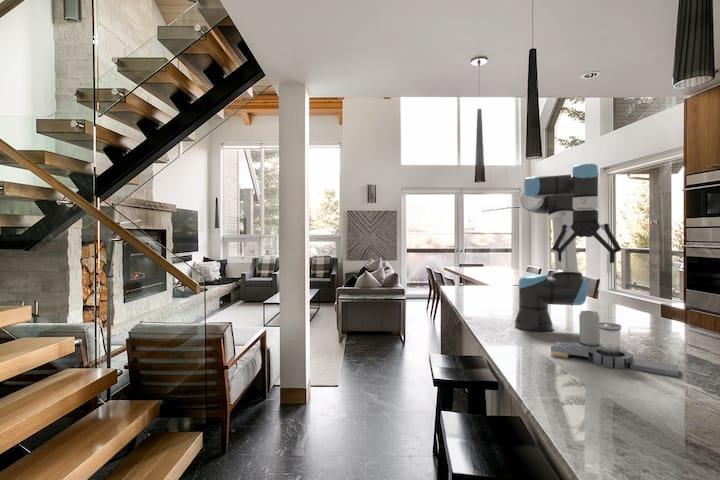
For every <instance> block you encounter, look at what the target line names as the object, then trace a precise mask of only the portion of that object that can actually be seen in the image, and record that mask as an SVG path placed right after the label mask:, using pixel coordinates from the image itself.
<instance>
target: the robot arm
mask: <svg viewBox="0 0 720 480" xmlns="http://www.w3.org/2000/svg"><path fill="white" fill-rule="evenodd" d="M598 169H599V166H598V165H597V164H596V163H583V164H576V165H574V166H573V167H572V173H571V174H559V175H556V174H555V175H543V176H542V175H541V176H540V175H539V176H528V177H525V178H524V180H523V193H522V195H521V196H520V204H521V206H522V207H523V208H524V209H525V211H526V210H527V211H528V212H531V213H534V214H542V215H544V214H545V215H546V214H548V215H547V217H548V219H550V220H551V221H552V232H553V235H552V236H553V246H552V248H551V249H552V250H553V251H554V267H555V270H554V272H552V273H551V277H549V276H548V275H547V274H544V273H543V274H541V273H540V274H539V273H538V274H530V275H523V276H521V277H519V280H518V287H517V288H518V311H517V315H516V318H515V321H514V327H516V329H517V328H518V329H520V330H525V331H530V332H531V331H533V332H547V331H548V332H549V331H552V330H553V329H554V327H553V321H552V318H551V315H550V313H549V309H548V308H549V307H548V306H549V305H553V306H554V305H558V306H571V307H573V306H582V305H584V304H585V302H586V300H587V295H588V288H589V287H588V285H589V283H588V279H587V278H585V277H583V273H582V272H580V271H579V270H578V259H577V258H578V257H577V247H576V239H577V237H579V238H584V237H586V238H591V237H594V238H595V239H596V240H597V241H598V242H599V243H600V244H601V246H603V247H604V249H606V250H607V251H608V252H606V273H607V274H611V272H612V271H611V269H612V268H611V267H612V264H614V263H615V261H616V260H615V257H616V256H615V254H616V253H618V252H621V251H622V248H621V246H620V244H619V242H618V240H617V239H616V238H615V236H614V234H613V232H612V231H611V228H610V224H609V223H604V224H600V223H599V211H598V208H599V170H598ZM600 229H602V231H604V232H605V234H606V235H607V237H608V239H609V241H610V242H611V244H612V246H613V247H614V248H613V247H612V246H611V245H610V244H609V243H608V242H607V241H606V239H604V238H603V237H602V236H601V235H600V234H599V233H598V231H599V230H600Z"/></svg>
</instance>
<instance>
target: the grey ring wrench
mask: <svg viewBox="0 0 720 480" xmlns="http://www.w3.org/2000/svg"><path fill="white" fill-rule="evenodd" d="M571 355H574V356H580V357H586V358H588V361H589V360H590V361H592V362H593V363H592V362H591V363H592V364H594V363H596V364H595V365H597V364H599V365H598V366H600V365H603V366H606V367H605V368H609V367H612V368H611V369H617V368H624V369H625V368H627V369H630V370H633V369H635V370H634V371H639V370H641V371H640V372H645V371H646V372H647V373H650V374H651V373H652V374H655V375H656V374H658V375H662V376H668V377H675V378H679V365H678V364H673V363H672V364H671V363H665V362H659V361H651V360H646V359H639V358H634V354H632V353H631V352H628V351H625V350H622V349H620V355H621V357H612V356H606V355H602V354H599V347H593V346H587V345H584V346H583V345H577V344H572V343H565V342H560V341H559V342H558V341H556V342H554V344H552V345H551V346H550V356H553V357H558V358H565V359H568V358H570V356H571ZM590 361H589V362H590ZM603 366H602V367H603ZM630 367H631V368H630Z"/></svg>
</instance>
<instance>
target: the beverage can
mask: <svg viewBox="0 0 720 480" xmlns="http://www.w3.org/2000/svg"><path fill="white" fill-rule="evenodd" d="M578 318H579V342H580V343H581V344H582V343H583V344H582V345H584V344H586V345H585V346H589V345H596V346H599V327H598V323H600V315H599V312H598V311H593V310H581V311H580V313H579V317H578Z"/></svg>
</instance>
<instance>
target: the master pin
mask: <svg viewBox="0 0 720 480" xmlns="http://www.w3.org/2000/svg"><path fill="white" fill-rule="evenodd" d="M598 327H599V344H598V346H599V347H598V348H599V354H602V355H606V356H612V357H621V355H620V350H621V330H622V325H621V324H619V323H613V322H599V323H598Z"/></svg>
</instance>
